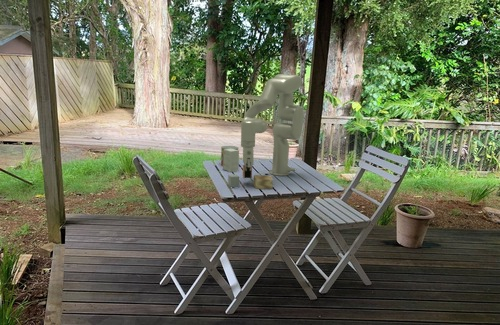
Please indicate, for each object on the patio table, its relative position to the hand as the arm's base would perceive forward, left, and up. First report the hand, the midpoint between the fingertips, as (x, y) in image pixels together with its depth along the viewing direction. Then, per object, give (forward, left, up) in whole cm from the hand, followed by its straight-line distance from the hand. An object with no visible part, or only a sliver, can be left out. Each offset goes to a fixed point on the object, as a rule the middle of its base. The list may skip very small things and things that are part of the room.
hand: (247, 176), depth 204 cm
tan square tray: (-8, +4, -5) cm, 10 cm away
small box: (+7, -31, -5) cm, 32 cm away
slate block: (+8, +5, -5) cm, 10 cm away
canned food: (+7, -45, -5) cm, 46 cm away
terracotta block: (0, 0, 0) cm, 0 cm away
